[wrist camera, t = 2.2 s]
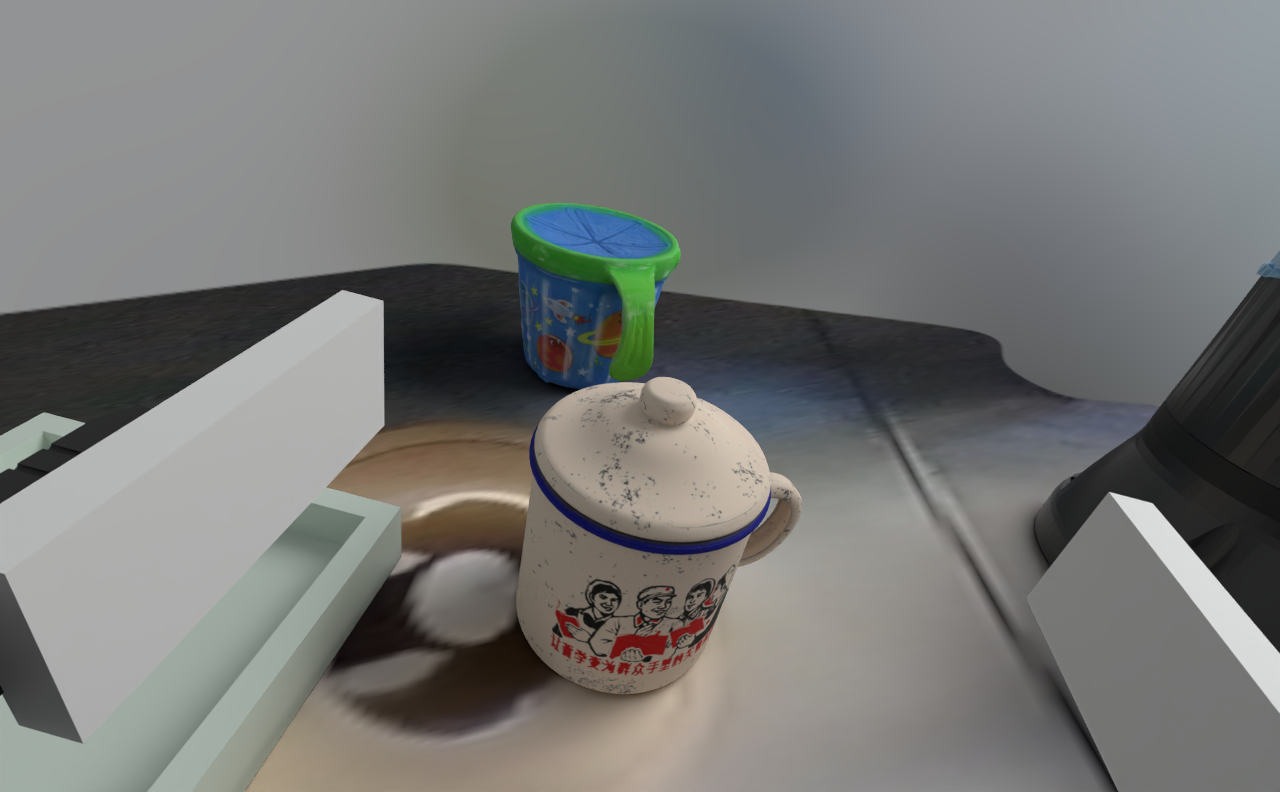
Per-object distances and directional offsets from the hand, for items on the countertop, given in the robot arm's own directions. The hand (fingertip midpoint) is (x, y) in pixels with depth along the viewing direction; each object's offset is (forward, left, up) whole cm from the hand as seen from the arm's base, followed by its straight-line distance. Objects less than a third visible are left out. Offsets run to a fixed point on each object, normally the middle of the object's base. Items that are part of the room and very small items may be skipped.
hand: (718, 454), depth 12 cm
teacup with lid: (0, -10, -16) cm, 19 cm away
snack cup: (+8, -29, -16) cm, 34 cm away
